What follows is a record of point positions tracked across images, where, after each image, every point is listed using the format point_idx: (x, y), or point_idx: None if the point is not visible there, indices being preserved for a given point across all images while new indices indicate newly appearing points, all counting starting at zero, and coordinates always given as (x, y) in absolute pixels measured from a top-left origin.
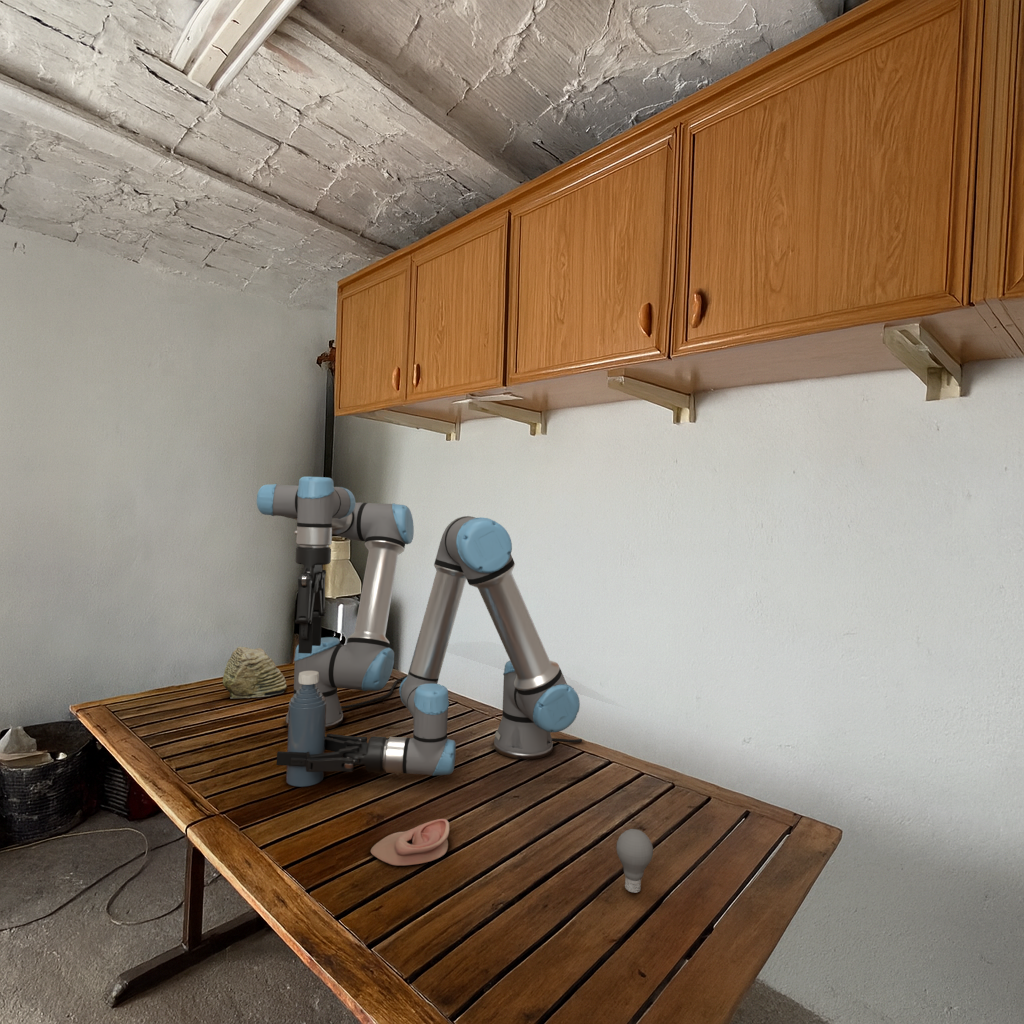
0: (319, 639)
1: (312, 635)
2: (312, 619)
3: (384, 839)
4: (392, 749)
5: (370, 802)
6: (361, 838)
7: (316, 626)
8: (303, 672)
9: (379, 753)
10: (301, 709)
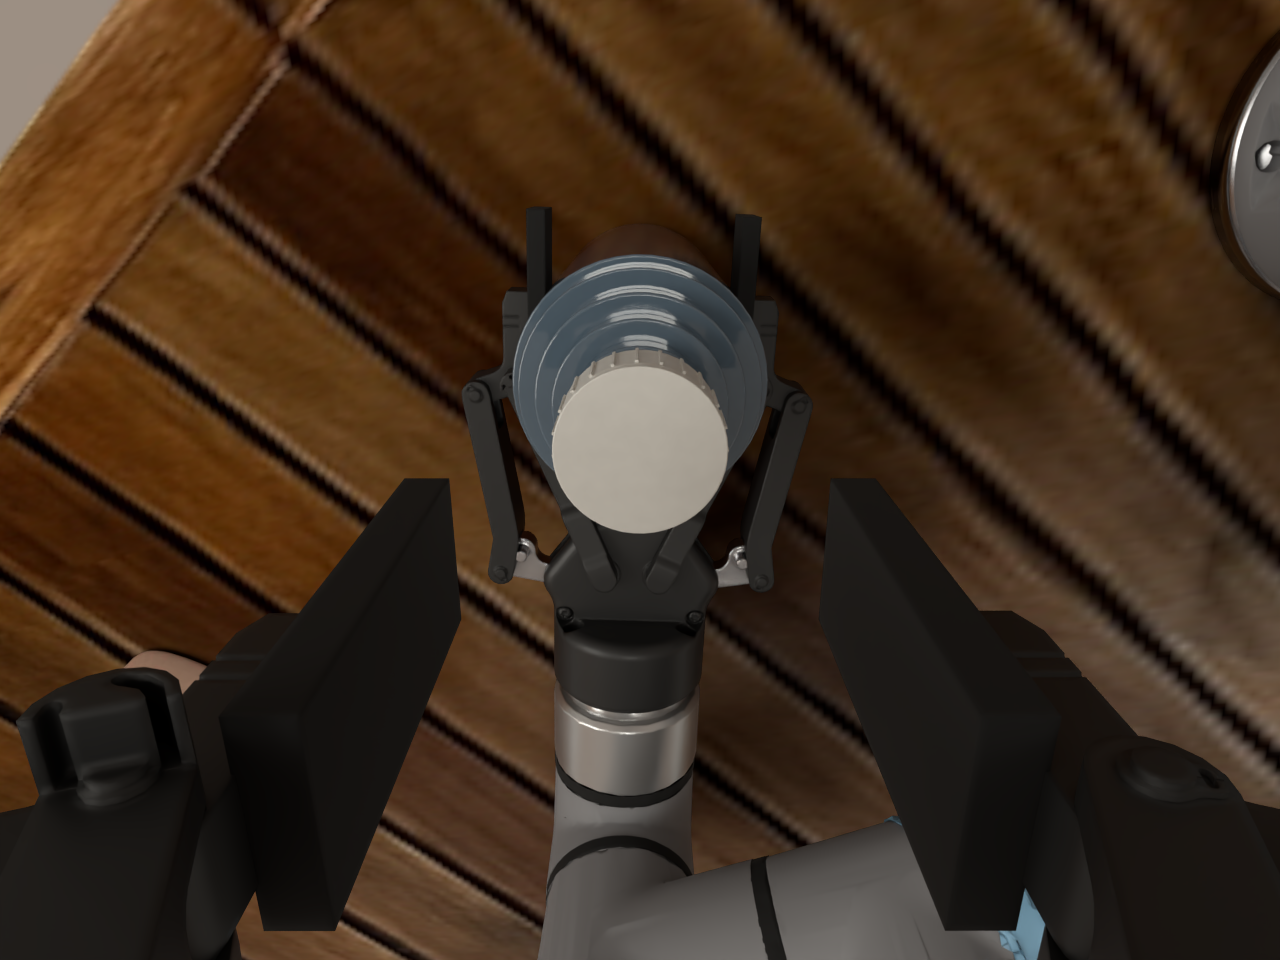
0: (838, 657)
1: (403, 758)
2: (946, 753)
3: (185, 689)
4: (568, 734)
5: (465, 593)
6: (227, 608)
7: (895, 732)
8: (656, 398)
9: (559, 678)
10: (513, 377)
